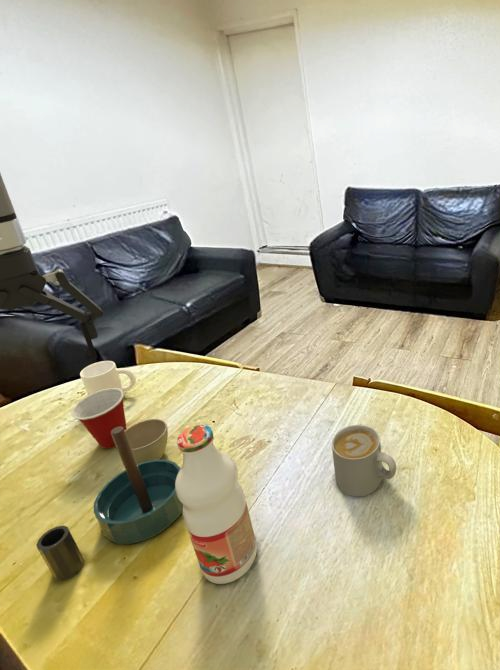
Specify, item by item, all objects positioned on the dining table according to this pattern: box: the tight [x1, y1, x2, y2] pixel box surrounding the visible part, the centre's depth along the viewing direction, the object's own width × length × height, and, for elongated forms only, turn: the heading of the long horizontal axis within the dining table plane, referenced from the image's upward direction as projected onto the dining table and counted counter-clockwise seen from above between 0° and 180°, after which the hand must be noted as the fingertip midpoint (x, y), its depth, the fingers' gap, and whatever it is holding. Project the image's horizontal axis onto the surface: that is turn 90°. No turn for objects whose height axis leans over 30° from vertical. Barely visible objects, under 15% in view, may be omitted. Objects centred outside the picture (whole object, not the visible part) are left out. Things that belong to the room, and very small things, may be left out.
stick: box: [111, 426, 153, 513], centre depth 78 cm, size 2×2×20 cm
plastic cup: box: [70, 388, 127, 449], centre depth 99 cm, size 11×11×12 cm
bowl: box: [93, 458, 183, 545], centre depth 81 cm, size 15×15×6 cm
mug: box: [79, 360, 136, 398], centre depth 116 cm, size 12×8×10 cm
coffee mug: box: [331, 424, 397, 497], centre depth 85 cm, size 13×10×10 cm
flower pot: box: [125, 418, 169, 464], centre depth 95 cm, size 10×10×7 cm
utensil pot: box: [35, 525, 85, 582], centre depth 71 cm, size 4×4×8 cm
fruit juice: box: [175, 424, 258, 585], centre depth 67 cm, size 9×9×28 cm
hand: (47, 369), depth 71 cm, fingers open, 13 cm apart
